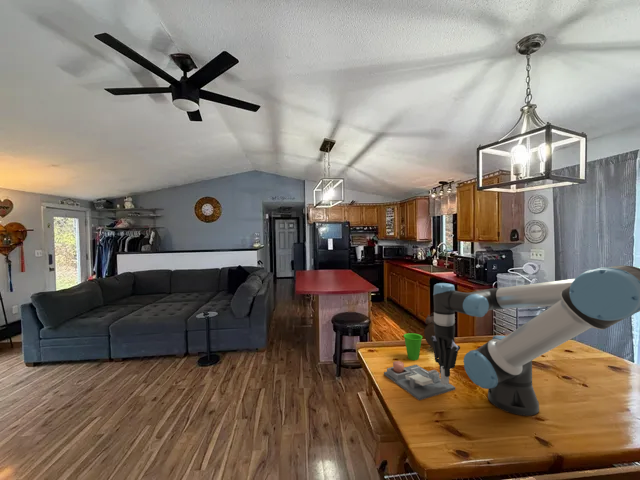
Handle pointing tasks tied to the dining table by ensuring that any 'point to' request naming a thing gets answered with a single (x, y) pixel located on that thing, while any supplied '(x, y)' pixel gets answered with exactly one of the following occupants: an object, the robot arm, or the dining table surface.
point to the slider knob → (434, 376)
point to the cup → (413, 345)
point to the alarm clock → (429, 329)
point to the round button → (398, 367)
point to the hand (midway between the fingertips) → (444, 383)
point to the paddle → (419, 379)
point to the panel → (414, 388)
